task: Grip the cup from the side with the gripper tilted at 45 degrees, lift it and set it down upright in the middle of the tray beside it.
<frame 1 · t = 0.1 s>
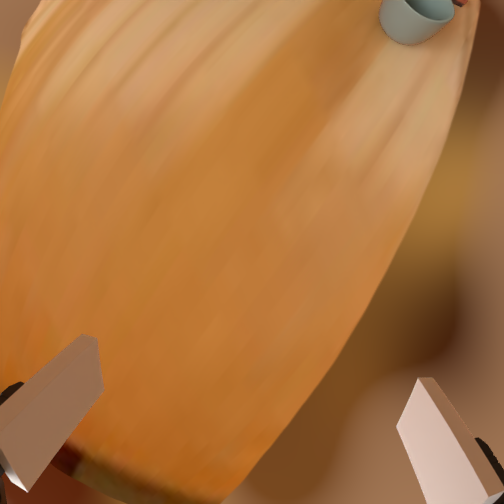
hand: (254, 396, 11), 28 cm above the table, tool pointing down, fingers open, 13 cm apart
cup: (398, 29, 31), on the table
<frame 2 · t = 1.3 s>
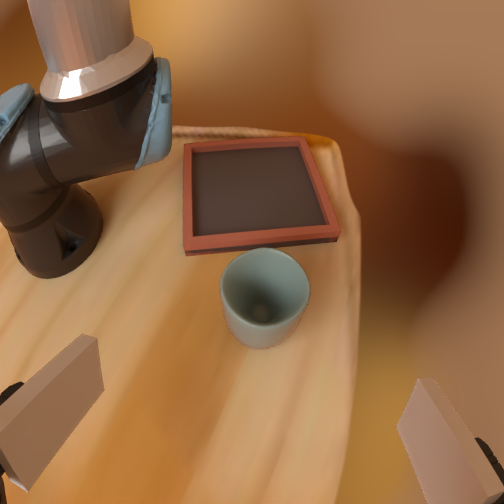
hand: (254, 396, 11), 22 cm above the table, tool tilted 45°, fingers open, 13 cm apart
tray: (253, 192, 46), on the table
cup: (259, 324, 35), on the table
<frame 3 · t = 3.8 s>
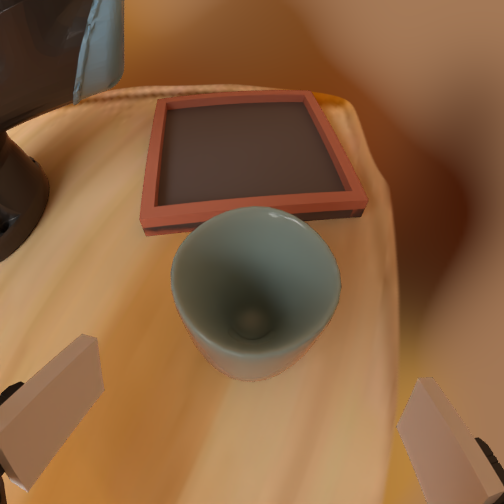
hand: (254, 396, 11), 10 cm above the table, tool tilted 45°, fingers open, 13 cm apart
tray: (244, 152, 33), on the table
cup: (250, 338, 23), on the table
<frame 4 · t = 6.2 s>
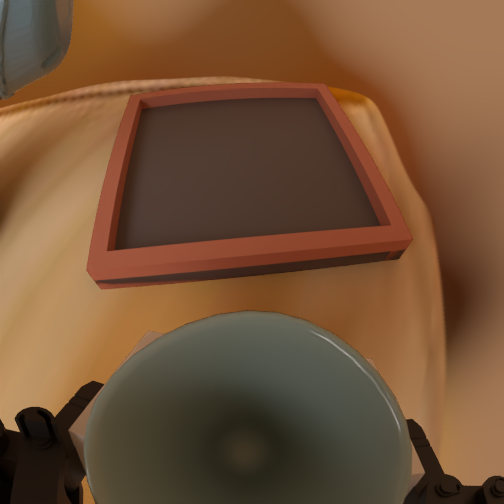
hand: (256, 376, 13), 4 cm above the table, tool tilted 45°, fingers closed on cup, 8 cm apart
tray: (239, 164, 25), on the table
cup: (244, 447, 14), on the table, touching gripper
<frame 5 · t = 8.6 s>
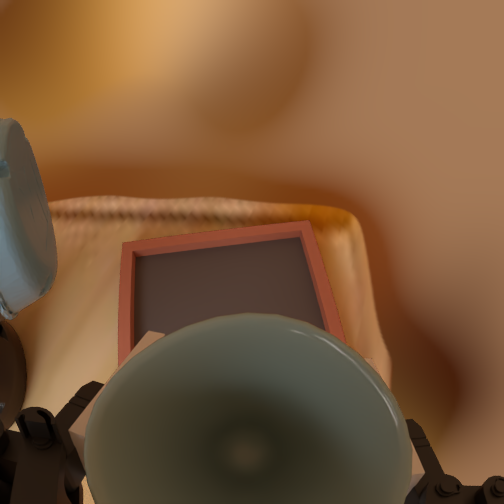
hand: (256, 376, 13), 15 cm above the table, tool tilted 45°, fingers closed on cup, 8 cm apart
tray: (228, 331, 29), on the table
cup: (245, 448, 14), point 11 cm above the table, touching gripper
when the fingers open (6 cm above the table, at t = 11.2 s): cup drops 1 cm, resting on tray.
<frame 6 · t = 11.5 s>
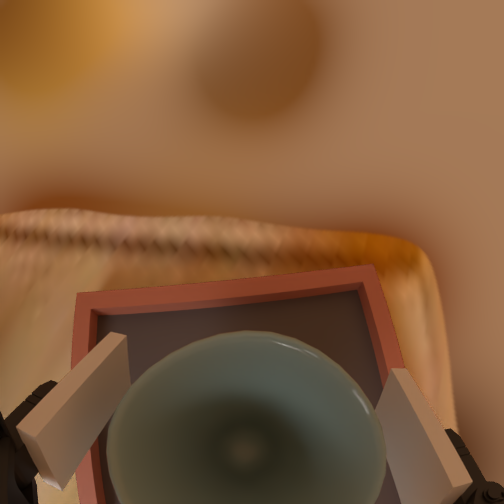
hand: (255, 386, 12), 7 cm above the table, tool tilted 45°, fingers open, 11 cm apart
tray: (244, 444, 16), on the table
cup: (244, 446, 15), point 1 cm above the table, touching tray
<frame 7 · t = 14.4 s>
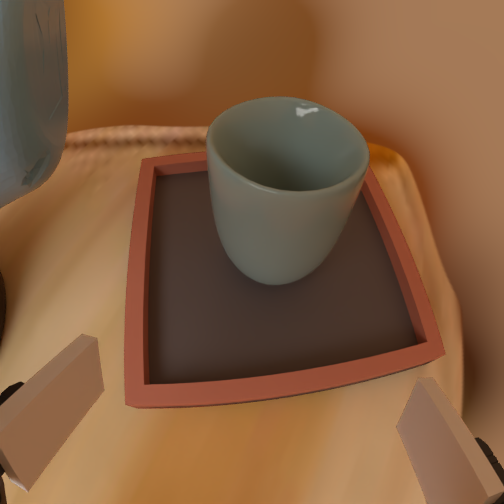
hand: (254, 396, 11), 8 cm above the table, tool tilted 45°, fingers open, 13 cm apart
tray: (271, 259, 23), on the table
cup: (272, 252, 22), point 1 cm above the table, touching tray
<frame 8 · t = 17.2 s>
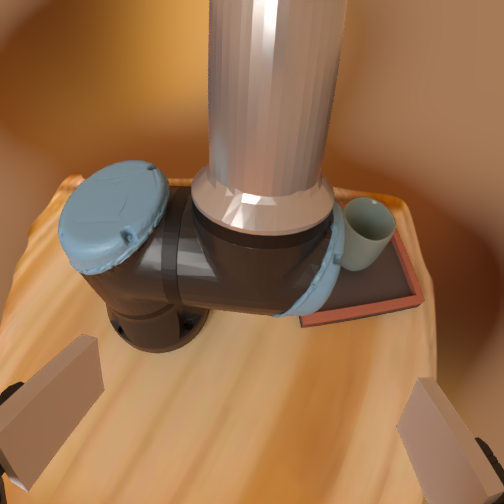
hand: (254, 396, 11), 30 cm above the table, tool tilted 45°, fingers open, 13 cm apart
tray: (348, 260, 49), on the table
cup: (349, 257, 49), point 1 cm above the table, touching tray
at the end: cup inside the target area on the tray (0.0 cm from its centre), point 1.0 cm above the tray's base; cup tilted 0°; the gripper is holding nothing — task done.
